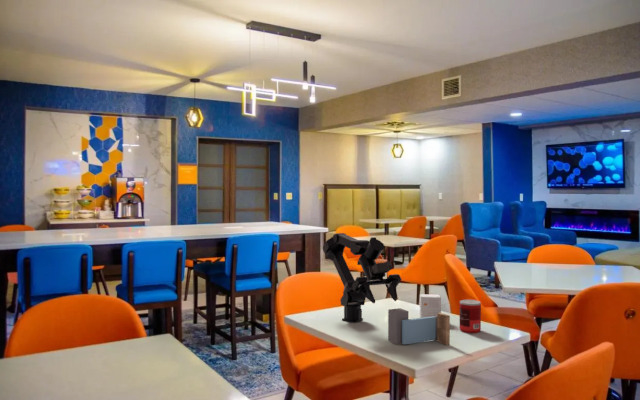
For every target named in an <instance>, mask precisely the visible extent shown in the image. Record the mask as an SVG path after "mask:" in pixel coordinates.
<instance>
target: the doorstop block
mask: <svg viewBox="0 0 640 400" xmlns="http://www.w3.org/2000/svg"><path fill="white" fill-rule="evenodd" d="M387 312H388V314H387V315H388V316H387V323H388V327H387V331H388V336H387V338H388V339H387V341H388V342H389V343H392V344H394V345H403V344H402V320H408V319H409V310H406V309H404V308H399V307H398V308H392V309H390V308H389V309H388V311H387Z"/></svg>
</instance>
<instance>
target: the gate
mask: <svg viewBox="0 0 640 400" xmlns="http://www.w3.org/2000/svg"><path fill="white" fill-rule="evenodd" d="M428 341H429V342H430V341H436V342H437V316H432V317H424V318H420V317H417V318H411V319H410V318H408V320H402V344H401V345H408V344H409V345H410V344H415V343H416V344H417V343H422V342H423V343H424V342H428Z"/></svg>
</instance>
